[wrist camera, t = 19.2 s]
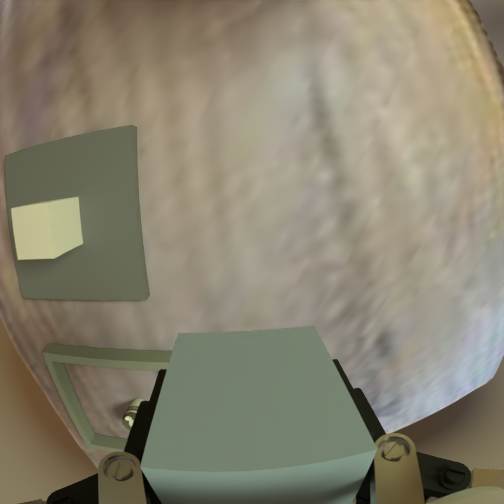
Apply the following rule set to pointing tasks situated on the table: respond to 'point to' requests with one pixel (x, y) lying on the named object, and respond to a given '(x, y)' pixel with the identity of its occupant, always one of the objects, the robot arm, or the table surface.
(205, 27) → the table surface
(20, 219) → the cream block
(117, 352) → the cup coaster rim
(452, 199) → the table surface
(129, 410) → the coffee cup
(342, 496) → the slate block
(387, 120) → the table surface
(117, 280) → the baseplate
